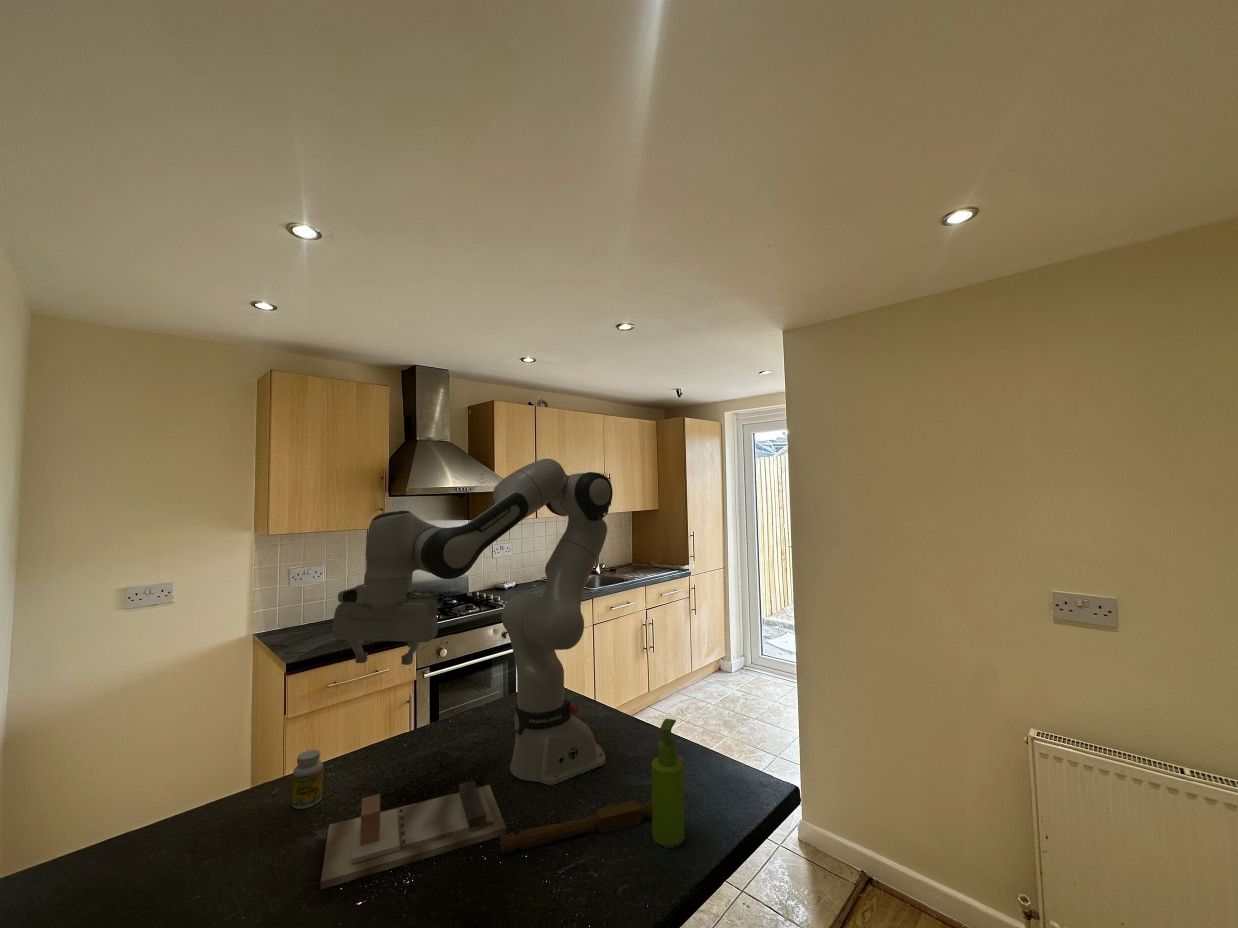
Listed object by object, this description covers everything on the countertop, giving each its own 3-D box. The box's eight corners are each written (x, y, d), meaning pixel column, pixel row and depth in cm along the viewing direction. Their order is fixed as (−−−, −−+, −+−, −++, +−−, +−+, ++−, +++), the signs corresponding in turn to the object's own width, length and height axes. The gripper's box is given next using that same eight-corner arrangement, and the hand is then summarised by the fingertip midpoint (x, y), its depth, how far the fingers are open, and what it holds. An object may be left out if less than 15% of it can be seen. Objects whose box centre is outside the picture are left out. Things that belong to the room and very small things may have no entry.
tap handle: (500, 830, 90) (652, 795, 100) (500, 848, 90) (652, 811, 100) (502, 841, 87) (658, 804, 97) (502, 859, 87) (659, 821, 97)
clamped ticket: (489, 790, 107) (489, 772, 108) (506, 834, 93) (506, 813, 93) (329, 831, 94) (329, 811, 95) (320, 889, 80) (321, 865, 80)
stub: (397, 812, 98) (397, 781, 98) (399, 850, 87) (400, 815, 87) (354, 823, 95) (355, 791, 95) (351, 863, 84) (352, 827, 84)
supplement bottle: (321, 791, 108) (323, 745, 108) (322, 804, 103) (324, 755, 104) (291, 800, 105) (293, 752, 105) (291, 813, 100) (293, 763, 101)
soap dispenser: (688, 827, 94) (686, 718, 96) (680, 851, 88) (678, 733, 90) (658, 821, 96) (656, 714, 98) (648, 844, 90) (647, 729, 91)
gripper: (444, 590, 102) (441, 660, 101) (349, 588, 104) (345, 657, 102) (430, 595, 96) (427, 669, 94) (329, 593, 97) (325, 666, 96)
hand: (384, 663), depth 98 cm, fingers open, 8 cm apart
